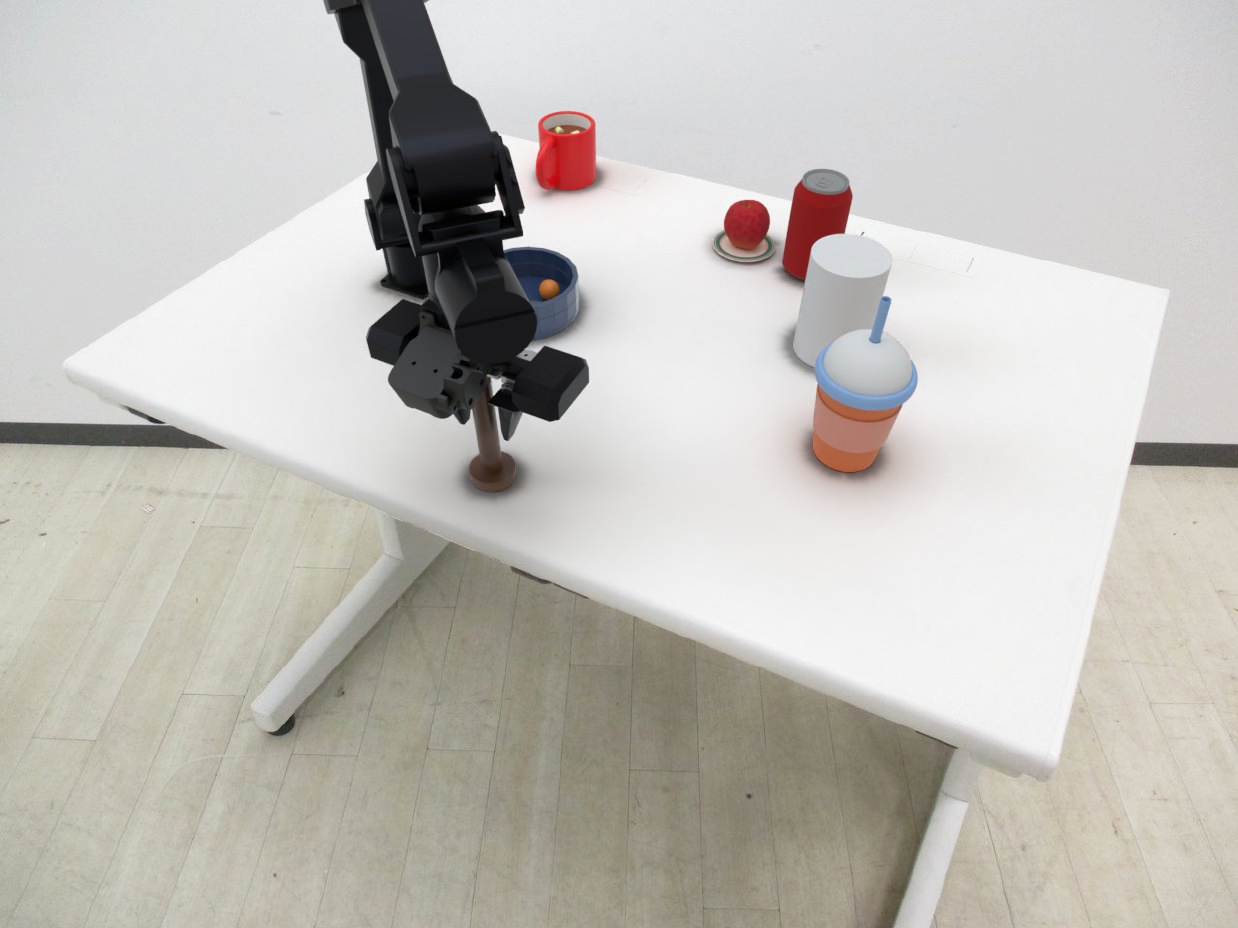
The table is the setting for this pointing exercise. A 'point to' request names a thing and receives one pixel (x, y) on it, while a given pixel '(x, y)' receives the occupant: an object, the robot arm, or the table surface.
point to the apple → (745, 233)
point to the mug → (566, 151)
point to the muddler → (489, 449)
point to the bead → (549, 289)
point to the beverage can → (815, 215)
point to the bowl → (537, 268)
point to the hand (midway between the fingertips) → (486, 429)
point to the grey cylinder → (840, 291)
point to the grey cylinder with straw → (860, 394)
